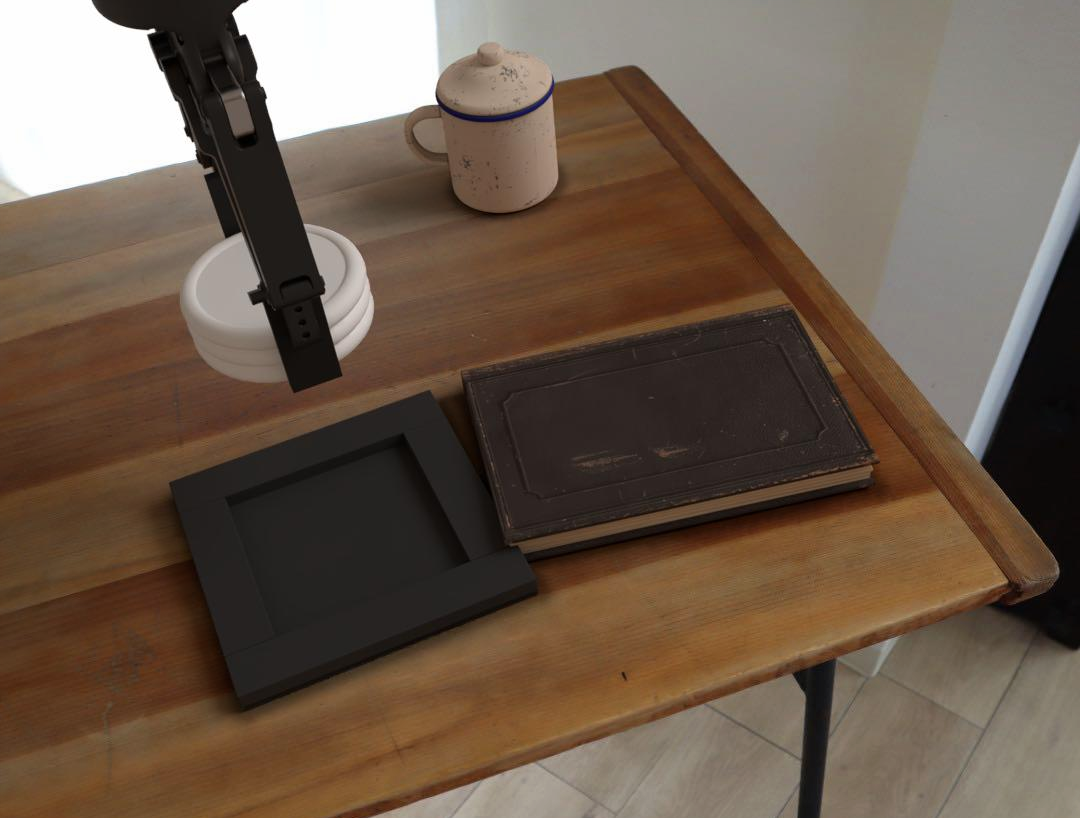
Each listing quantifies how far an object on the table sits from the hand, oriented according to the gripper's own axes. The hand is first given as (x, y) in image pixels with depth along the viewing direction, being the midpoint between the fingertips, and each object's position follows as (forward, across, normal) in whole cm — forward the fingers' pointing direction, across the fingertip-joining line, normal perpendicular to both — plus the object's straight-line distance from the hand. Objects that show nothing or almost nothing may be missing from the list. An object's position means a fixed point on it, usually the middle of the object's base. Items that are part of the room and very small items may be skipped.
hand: (287, 322), depth 65 cm
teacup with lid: (+14, +26, -21) cm, 37 cm away
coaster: (0, 0, 0) cm, 0 cm away
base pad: (+14, -4, +1) cm, 15 cm away
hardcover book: (+14, -6, -20) cm, 25 cm away
